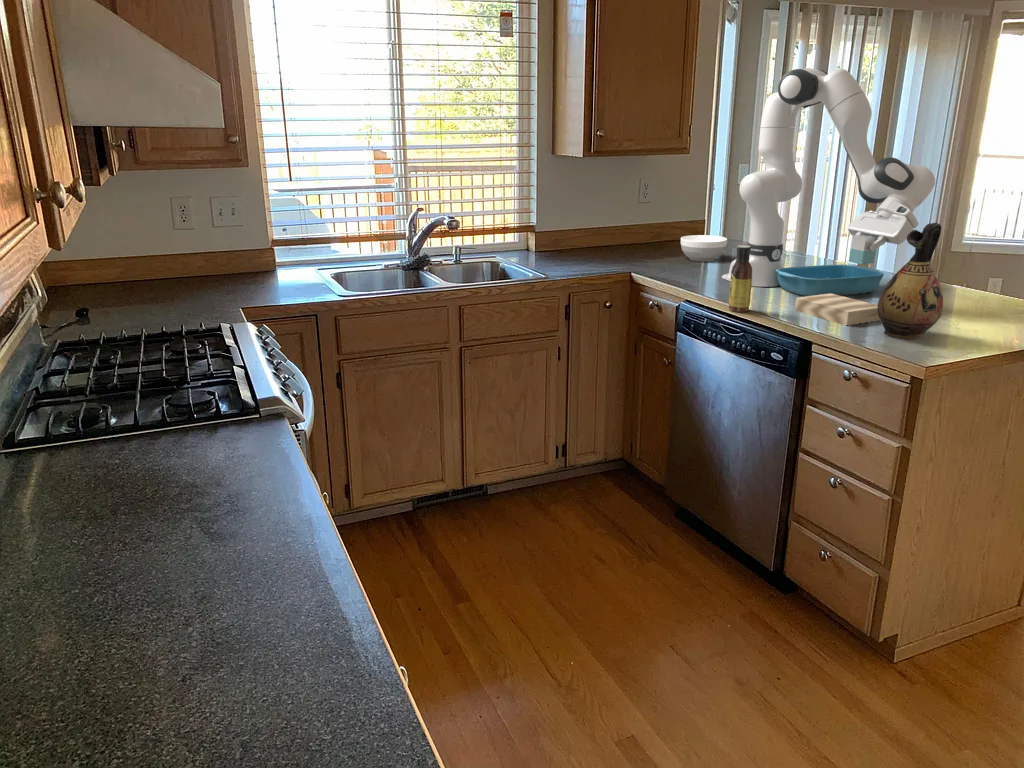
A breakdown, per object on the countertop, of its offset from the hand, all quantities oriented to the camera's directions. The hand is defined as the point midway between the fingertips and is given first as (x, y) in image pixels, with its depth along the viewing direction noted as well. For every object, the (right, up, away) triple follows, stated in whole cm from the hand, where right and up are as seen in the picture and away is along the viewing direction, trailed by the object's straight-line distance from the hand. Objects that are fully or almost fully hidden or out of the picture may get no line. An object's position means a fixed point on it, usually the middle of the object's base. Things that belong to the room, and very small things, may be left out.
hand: (861, 248), depth 230 cm
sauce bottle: (-37, -19, +3) cm, 42 cm away
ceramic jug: (0, -28, -25) cm, 38 cm away
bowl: (-27, +11, +87) cm, 91 cm away
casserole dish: (+1, -10, +28) cm, 30 cm away
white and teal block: (+1, -4, +2) cm, 4 cm away
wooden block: (-9, -21, -4) cm, 23 cm away
